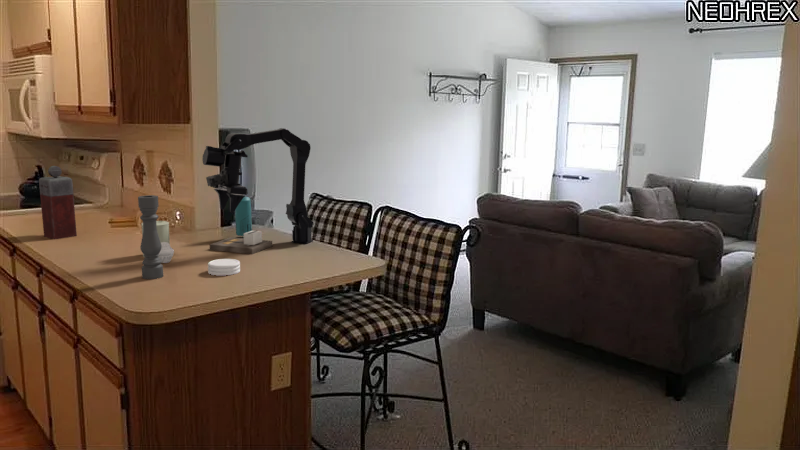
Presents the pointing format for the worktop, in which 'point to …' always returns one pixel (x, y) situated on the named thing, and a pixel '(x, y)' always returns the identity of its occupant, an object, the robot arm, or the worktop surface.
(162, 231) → the can
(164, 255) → the muffin
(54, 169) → the red lidded canister
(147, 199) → the candle holder
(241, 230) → the beverage bottle
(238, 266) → the white flat disc
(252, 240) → the fader knob
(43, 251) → the worktop surface
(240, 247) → the fader console
